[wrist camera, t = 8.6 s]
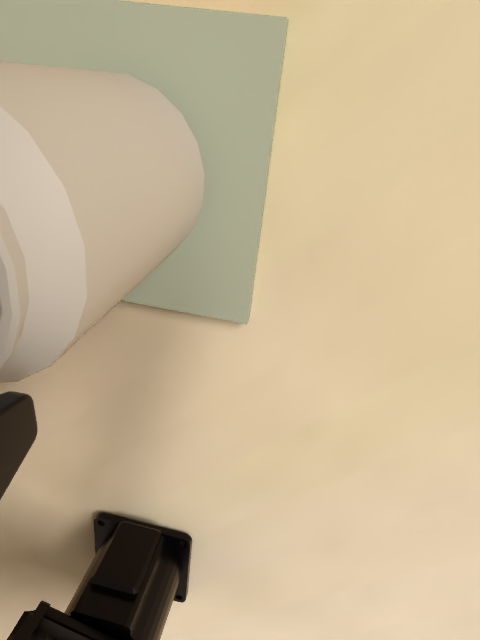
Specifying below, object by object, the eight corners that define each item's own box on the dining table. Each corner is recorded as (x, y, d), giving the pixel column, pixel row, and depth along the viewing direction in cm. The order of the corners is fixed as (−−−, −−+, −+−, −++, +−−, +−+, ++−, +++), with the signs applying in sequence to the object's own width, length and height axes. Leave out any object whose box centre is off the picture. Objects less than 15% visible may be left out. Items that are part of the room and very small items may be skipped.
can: (62, 256, 22) (-205, 412, 11) (22, 77, 18) (-408, 54, 8) (216, 260, 20) (78, 442, 10) (203, 65, 17) (-29, 17, 6)
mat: (249, 318, 22) (246, 324, 21) (18, 275, 23) (10, 279, 23) (288, 19, 16) (286, 17, 16) (-17, -12, 18) (-28, -15, 17)
